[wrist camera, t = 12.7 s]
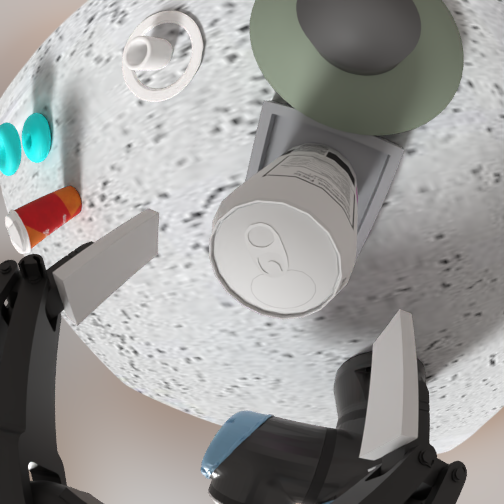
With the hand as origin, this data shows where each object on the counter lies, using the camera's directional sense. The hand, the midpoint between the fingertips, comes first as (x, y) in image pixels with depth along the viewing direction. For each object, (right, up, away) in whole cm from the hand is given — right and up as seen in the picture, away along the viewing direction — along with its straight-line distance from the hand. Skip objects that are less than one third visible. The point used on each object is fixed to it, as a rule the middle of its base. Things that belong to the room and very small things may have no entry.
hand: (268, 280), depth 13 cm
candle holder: (-11, +24, +11) cm, 29 cm away
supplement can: (+5, +8, +13) cm, 16 cm away
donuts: (-41, +24, +24) cm, 53 cm away
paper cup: (-33, +11, +29) cm, 45 cm away
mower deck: (+8, +15, +8) cm, 19 cm away
